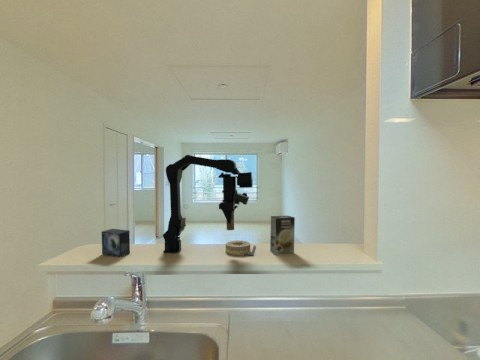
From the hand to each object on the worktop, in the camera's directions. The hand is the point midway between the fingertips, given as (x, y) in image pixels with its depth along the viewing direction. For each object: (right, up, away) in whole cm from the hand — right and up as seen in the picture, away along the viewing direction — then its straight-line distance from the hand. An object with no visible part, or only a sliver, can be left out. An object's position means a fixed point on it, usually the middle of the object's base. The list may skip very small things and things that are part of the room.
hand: (230, 222), depth 126 cm
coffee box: (+23, -14, +1) cm, 27 cm away
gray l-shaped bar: (+9, -13, +3) cm, 16 cm away
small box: (-51, -14, -1) cm, 52 cm away
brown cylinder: (0, -3, 0) cm, 3 cm away
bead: (+3, -13, +3) cm, 14 cm away
